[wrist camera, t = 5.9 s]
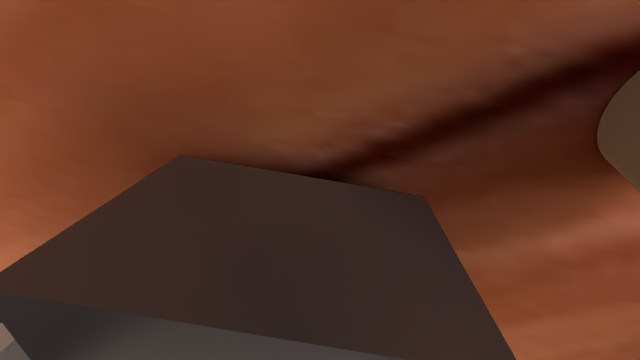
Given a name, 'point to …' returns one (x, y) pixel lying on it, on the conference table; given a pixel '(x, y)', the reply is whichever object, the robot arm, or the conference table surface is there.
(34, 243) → the conference table surface
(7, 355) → the robot arm
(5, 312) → the plug
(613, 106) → the mug
